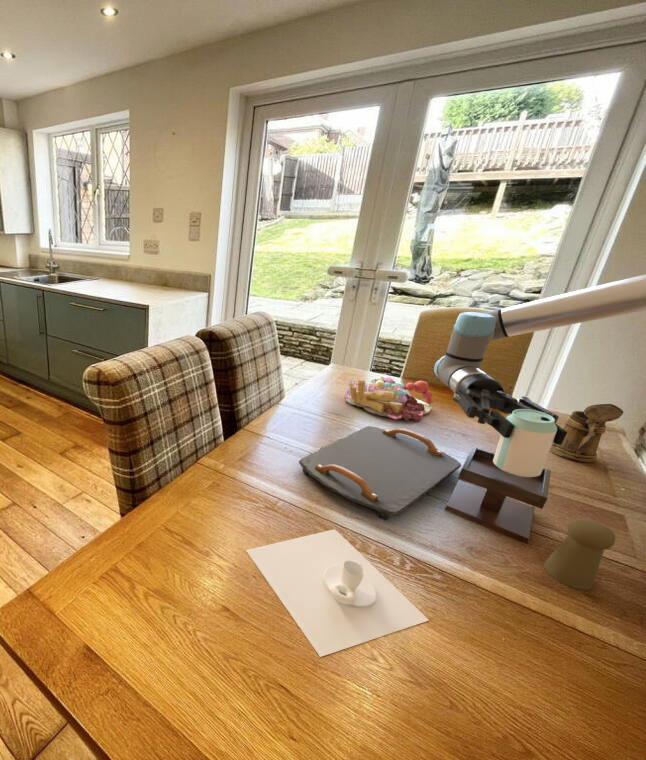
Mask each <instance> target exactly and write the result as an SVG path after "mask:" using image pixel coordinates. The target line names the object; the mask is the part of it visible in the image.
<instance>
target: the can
mask: <svg viewBox="0 0 646 760" xmlns="http://www.w3.org/2000/svg"><path fill="white" fill-rule="evenodd" d="M505 418H506V419H507V420H508V421H509V422H511V423H512V424H513V425H514V428H513V430H512V432H511V435H510V437H509V438H504V437H503V436H502V435H501V434H500V436H499V439H498V443H497V445H496V449H495V452H494V453H495V455H494V459H493V463H494V464H495V465H496V466H497V467H498V468H499V469H501V470H502V471H504V472H506V473H508V474H511V475H514V476H518V477H525V478H528V477H536V476H539V475H541V473H542V470H543V468H544V467H545V464H546V461H547V459H548V456H549V453H550V452H551V451H550V448H551V445H552V443H553V440H554V437H555V434H556V432H557V426H556V425H555V423H554V422H555V419H554V418H553V417H552V416H550V415H548V414H546V413H543V412H540V411H536V410H530V409H517V410H514V411H513V412H512V414H509V415H507V416H506V417H505Z"/></svg>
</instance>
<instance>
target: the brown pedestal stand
mask: <svg viewBox="0 0 646 760" xmlns="http://www.w3.org/2000/svg"><path fill="white" fill-rule="evenodd" d="M494 455H495V452H493V451H490V450H486V449H484V448H480V447H477V446H473V445H472V446H471V448H470V450H469V452H468V455H467V456H466V458H465V461H464V463H463V465H462V467H461V469H460V471H459V474H458V477H457V479H458V480H457V482H456V484H455V487H454V489H453V490H452V493H451V495H450V496H449V499H448V501H447V503H446V505H445V507H444V510H445V511H447V512H449V513H452V514H454V515H457V516H459V517H462V518H463V519H467V520H469V521H471V522H474V523H476V524H479V525H481V526H483V527H485V528H488V529H490V530H492V531H495V532H498V533H500V534H503V535H505V536H506V537H507V536H508V537H510V538H512V539H514V540H518V541H519V542H522V543H524V544H528V542H529V541H530V537H531V532H532V531H531V530H532V525H533V520H534V519H533V517H534V511H535V508H538V509H541V510H543V508H544V507H545V504H546V503H547V501H548V498H549V490H550V489H549V488H550V480H551V472H552V470H551V469H548V468H544V467H543V470H542V473H541V475H539V476H536V477H528V478H525V477H518V476H514V475H511V474H508V473H506V472H504V471H502V470H501V469H499V468H498V467H497V466H496V465H495V464H494V463H493V459H494Z"/></svg>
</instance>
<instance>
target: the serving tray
mask: <svg viewBox="0 0 646 760" xmlns="http://www.w3.org/2000/svg"><path fill="white" fill-rule="evenodd" d="M298 464H299V465H300V466H301V467H302V469H301V470H302V473H303V475H305V476H311V477H312V478H314V479H315V480H316V481H318V482H319V483H320V484H322V485H323V486H324V487H326V488H327V489H329V490H330V491H333V492H334V493H337V494H338V495H339V496H341V497H343V498H346V499H348V500H349V501H352V502H354V503H357V504H359V505H362V506H365V507H367V508H368V509H369V508H370V509H372V510H375V511H377V514H378V516H379V518H380V519H381V520H384V521H385V520H387V519H389V518H390V517H391V516H398V515H400V514H401V513H403V512H405V510H407V509H408V508H410V507H411V506H412V505H413V504H414V503H415V502H416V501H419V500H420V499H421V498H422V497H423V496H425V495H426V494H428V493H429V492H430V491H431V490H433V489H434V488H435V487H437V486H438V485H439V484H441V483H442V482H443V481H444V480H446V479H447V478H448V477H449V476H451V475H452V474H453V473H454V472H456V471H457V470H459V469H460V468H462V467H461V466H462V463H461V462H459V460H458V459H456V458H454V457H452V456H450V455H449V454H447V453H446V452H445V451H442V450H440V449H438V448H437V447H436V446H435V444H434V443H433V442H432V440H431V439H430V438H428V437H426V436H424V435H422V434H420V433H418V432H415V431H413V430H410V429H406V428H403V427H402V428H401V427H397V428H394V429H391V430H389V429H385V428H381V427H377V426H372V425H371V426H370V425H368V426H365V427H363V428H361V429H359V430H357V431H354V432H352V433H350V434H349V435H347V436H345V437H343V438H340V439H338V440H335V441H334V442H332V443H330V444H328V445H326V446H325V445H324V446H323V447H321V448H320V449H318V450H317V451H314V452H313V453H310V454H308V455H307V456H304V457H302V458H301V459H300V460H299V461H298Z"/></svg>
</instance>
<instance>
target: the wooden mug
mask: <svg viewBox="0 0 646 760" xmlns="http://www.w3.org/2000/svg"><path fill="white" fill-rule="evenodd" d="M623 414H624V411H623V409H621V408H620V407H618V406H617V405H615V404H613V403H601V404H593V405H589V406H587V407H585V409H584V410H583V411H582V410H574V411H572V413H571V414H570V415H568V416H567V417H566V419H565V422H564V423H563V425H562V426H561V428H562V429H564V430H565V431H567V434H566V436H565V438H564V440H563V443H562V445H558V444H555V443H554V442H553V443H552V445H551V448H550V451H549V452H551V453H553V454H555V455H556V456H559V457H562V458H564V459H566V460H570V461H575V462H578V463H579V462H580V463H584V464H585V463H586V464H587V463H588V464H589V463H591V464H592V463H595V461H596V460H597V458H598V454H597V451H598V448H599V445H600V442H601V438H602V435H603V434H605V433H606V428H607V425H606V423H607V422H613V421H615V420H618V419H620V418H621V417H622V416H623Z"/></svg>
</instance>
